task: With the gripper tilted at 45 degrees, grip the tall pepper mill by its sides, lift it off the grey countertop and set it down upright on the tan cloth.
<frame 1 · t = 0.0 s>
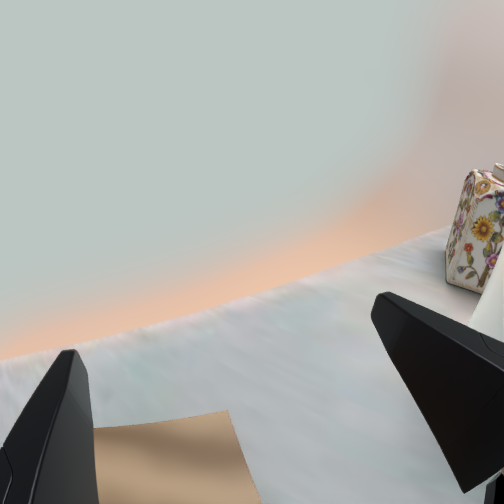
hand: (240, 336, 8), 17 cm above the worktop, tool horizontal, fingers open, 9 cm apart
decorative jar: (474, 276, 41), on the worktop
bottle: (496, 379, 24), on the worktop
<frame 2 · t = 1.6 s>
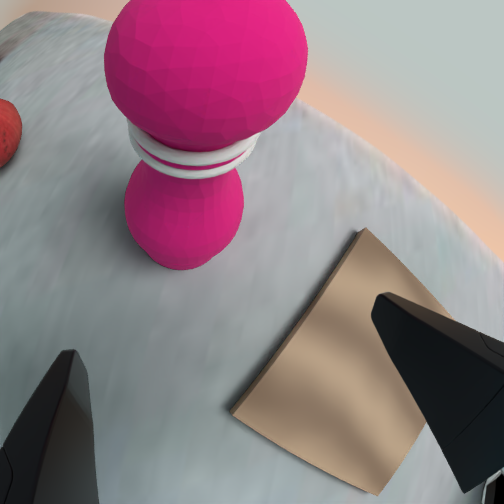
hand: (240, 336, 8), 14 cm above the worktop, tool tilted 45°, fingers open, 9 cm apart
onion: (7, 158, 20), on the worktop
tan cloth: (372, 371, 23), on the worktop
pepper mill: (181, 229, 23), on the worktop
when the fingers open (13 cm above the worktop, at t = 7.3 s): pepper mill stays where it is, resting on tan cloth.
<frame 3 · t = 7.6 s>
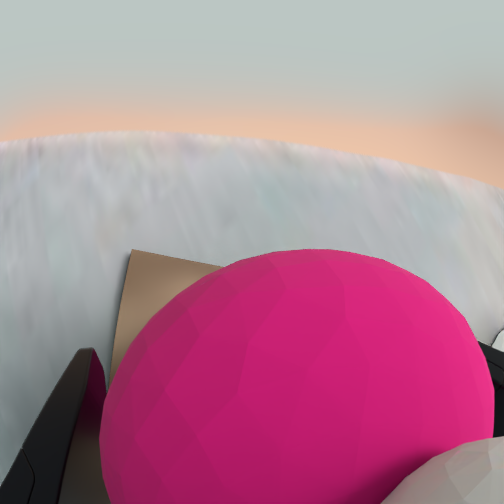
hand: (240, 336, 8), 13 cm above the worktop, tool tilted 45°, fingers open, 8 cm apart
tan cloth: (228, 401, 20), on the worktop
pepper mill: (206, 360, 19), point 1 cm above the worktop, touching tan cloth
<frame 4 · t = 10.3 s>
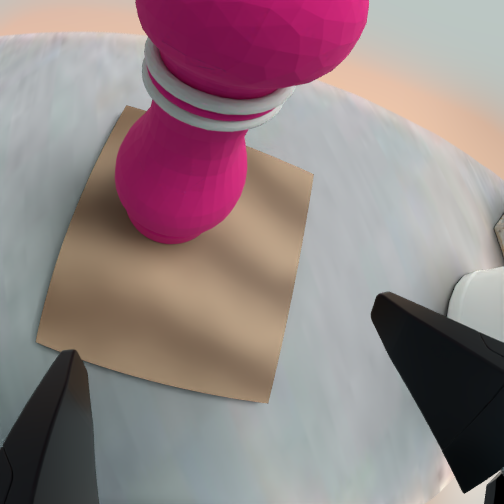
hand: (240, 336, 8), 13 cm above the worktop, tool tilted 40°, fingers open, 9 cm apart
tan cloth: (184, 250, 21), on the worktop
pepper mill: (170, 200, 21), point 1 cm above the worktop, touching tan cloth
bottle: (470, 327, 31), on the worktop
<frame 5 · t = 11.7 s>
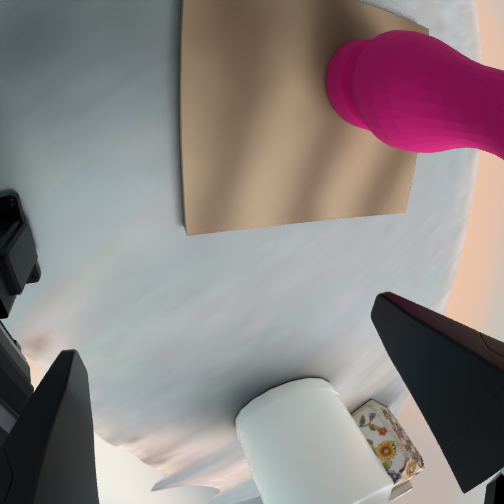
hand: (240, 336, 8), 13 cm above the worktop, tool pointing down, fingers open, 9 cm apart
tan cloth: (318, 105, 19), on the worktop
pepper mill: (362, 83, 18), point 1 cm above the worktop, touching tan cloth
decorative jar: (354, 420, 49), on the worktop
bottle: (284, 407, 37), on the worktop
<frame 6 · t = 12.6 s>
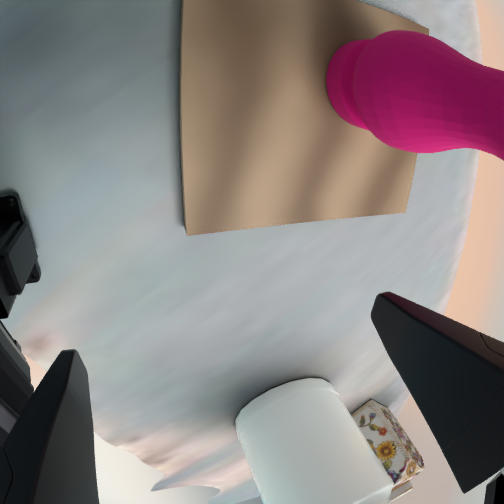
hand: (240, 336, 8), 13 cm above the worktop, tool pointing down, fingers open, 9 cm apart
tan cloth: (318, 105, 19), on the worktop
pepper mill: (362, 83, 18), point 1 cm above the worktop, touching tan cloth
decorative jar: (355, 420, 49), on the worktop
bottle: (284, 407, 37), on the worktop
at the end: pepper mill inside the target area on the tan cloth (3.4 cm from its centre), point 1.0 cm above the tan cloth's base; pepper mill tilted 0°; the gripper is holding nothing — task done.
